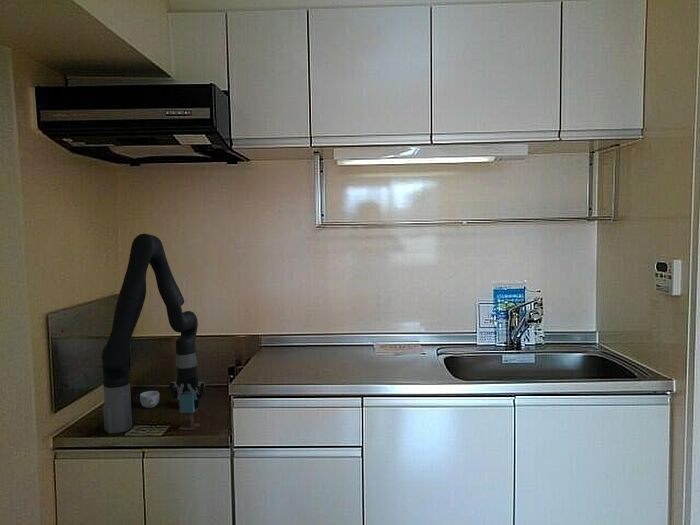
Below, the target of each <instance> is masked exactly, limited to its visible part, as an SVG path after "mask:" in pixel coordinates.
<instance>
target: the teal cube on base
mask: <svg viewBox="0 0 700 525" xmlns="http://www.w3.org/2000/svg"><path fill="white" fill-rule="evenodd" d="M194 400H195V399H194V394H193V395H192V394H191V392H188V391H187V392H184V393H183V394H181V395H179V404H180V408H179V413H180V414H181V413H183V414H184V413H193V414H194V413H195V412H196V411H197V410H196V409H195V405H194ZM199 407H200V406H199ZM199 407H198V409H200V408H199Z"/></svg>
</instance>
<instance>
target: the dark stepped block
mask: <svg viewBox="0 0 700 525" xmlns="http://www.w3.org/2000/svg"><path fill="white" fill-rule="evenodd" d="M197 426H198V427H199V426H201V425H200V423H195V422H194V413H183V424H182V425H181V426H179V427H178V431H187V430H194V429H195V428H196V427H197ZM198 427H197V428H198ZM197 428H196V429H197ZM196 429H195V430H196ZM195 430H194V431H195Z"/></svg>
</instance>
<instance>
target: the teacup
mask: <svg viewBox="0 0 700 525" xmlns="http://www.w3.org/2000/svg"><path fill="white" fill-rule="evenodd" d="M139 401H140V404H141V406H142V407H144V408H145V409H150V408H155V407H156V406H157V405H158V404H159V402H160V392H159V391H157V390H148V391H143V392H141V393H140V394H139Z"/></svg>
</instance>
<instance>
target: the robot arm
mask: <svg viewBox="0 0 700 525" xmlns="http://www.w3.org/2000/svg"><path fill="white" fill-rule="evenodd" d="M149 265H150V267H151V269H152V271H153V273H154V277H155V280H156V287H157V290H158V293H159V295H160V297H161V300H162V302H163V304H164V305H165V310H166V314H167V319H168V323H169V326H170V327H171V329H172V330H173V331H174V332H176V333H179V335H180V336H178V338H177V339H176V340H175V367H176V368H175V369H176V381H174V380H173V381H171V382H170V383H169V384H168V385H169V390H170V392H171V396H172V398H173V399H176V400H177V407H178V408H179V409H180V404H179V395H181V394H183V393H184V392H187V391H188V392H191V394H192V395H193V394H194V399H195V400H194V405H195V409H196V411H197V410H198V409H199V408H198V407H200V402H201V401H200V399H202V398H203V397H204V396H205V393H206V392H205V391H206V387H207V381H205V380H204V381H201V380H199V379H198V376H199V375H198V361H197V354H196V337H197V331H198V326H199V324H198V323H199V321H198V318H197V315H196V313H194V312H193V311H192V310H185V311H183V308H182V306H183V305H184V304H185V298H184V297H183V293H182V292H181V290H180V288H179V286H178V284H177V281H176V280H175V277H174V275H173V273H172V271H171V270H172V269H171V267H170V265H169V261H168V259H167V255H166V251H165V249H164V245H163V243H162V240H161V239H160V238H159V237H157V236H156V235H153V234H149V233H140V234H138V235H136V237H135V238H134V239H133V240H132V242H131V247H130V253H129V258H128V263H127V267H126V272H125V275H124V278H123V280H122V285H121V288H120V291H119V294H118V297H117V300H116V303H115V304H116V305H115V309H114V314H113V322H112V328H111V331H110V335H109V337H108V339H107V343H106V344H105V345H104V347H103V348H102V352H101V362H102V383H103V400H104V404H103V405H102V411H103V424H104V425H103V427H104V430H105V432H107V434H119V433H125V432H127V431H130V430H131V429H132V428H133V419H132V418H133V416H132V400H131V395H132V394H131V380H130V378H131V377H130V376H131V375H130V374H131V373H130V360H129V351H130V346H131V341H132V337H133V333H134V331H135V328H136V326H137V323H138V321H139V318H140V316H141V312H142V311H143V308H144V303H145V300H146V297H147V296H146V295H147V279H146V278H147V271H148V268H149ZM177 385H178V387H179V388H180V390H179V393H178V392H177ZM197 387H198V388H199V390H198V388H197Z"/></svg>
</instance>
